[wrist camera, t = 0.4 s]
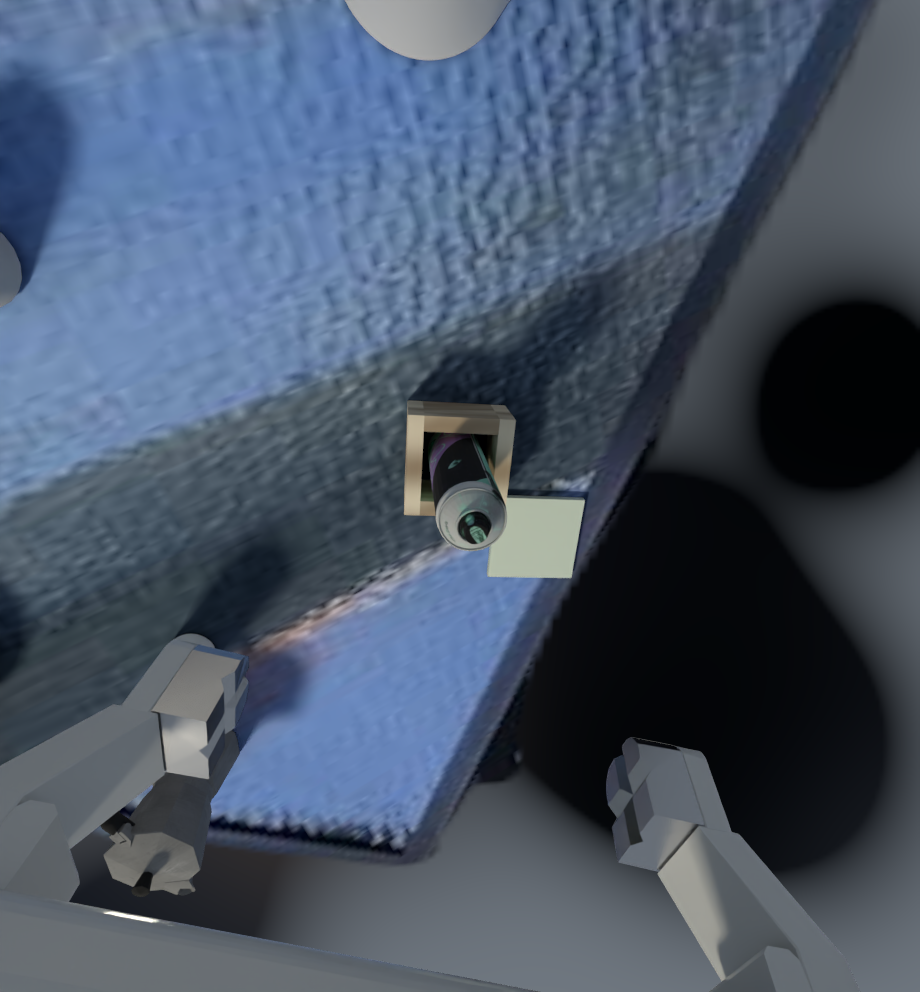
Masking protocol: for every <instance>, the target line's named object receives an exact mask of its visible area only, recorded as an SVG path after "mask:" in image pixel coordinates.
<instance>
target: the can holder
mask: <svg viewBox="0 0 920 992" xmlns="http://www.w3.org/2000/svg"><path fill="white" fill-rule="evenodd" d="M515 424H516V420H515V418H514V417H513V416H512V414H511V413H510V412H509V410H508V409H507V408H506V406H505V405H487V404H468V403H449V402H430V401H411V400H408V407H407V434H406V462H405V489H404V515H427V516H436V515H435V507H434V499H433V491H432V483H431V480H423V479H421V477H422V457H423V436H424V432H444V433H466V434H488V436H487V447H486V457H485V459H486V461H487V463H488V465H489V468H490V470H491V472H492V475H493V477H494V479H495V482H496V484H497V486H498V489H499V491H500V493H501V495H502V498H503V500H504V503H505V505H506V502H507V493H508V484H509V476H510V467H511V458H512V450H513V441H514V433H515Z"/></svg>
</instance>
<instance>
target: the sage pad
mask: <svg viewBox="0 0 920 992" xmlns="http://www.w3.org/2000/svg"><path fill="white" fill-rule="evenodd" d="M584 503H585V500H584V499H583V498H580V497H550V496H519V495H507V502H506V511H507V524H506V527H505V530H504V532H503V534H502V535H501V537H500V538H499V539H498V540H497V541H496V542H495V543H494V544H492V545H490V549H489V559H488V568H487V575H488V577H538V578H571V576H572V571H573V565H574V559H575V554H576V548H577V542H578V537H579V531H580V525H581V520H582V514H583V508H584Z"/></svg>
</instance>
